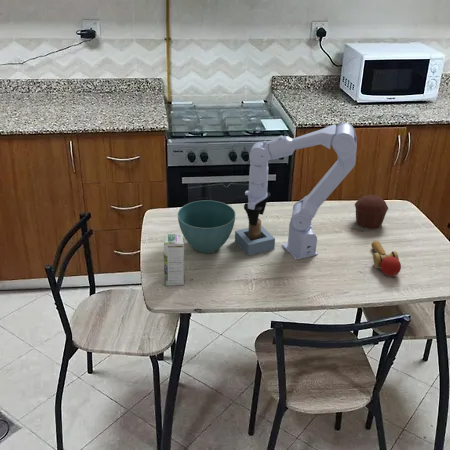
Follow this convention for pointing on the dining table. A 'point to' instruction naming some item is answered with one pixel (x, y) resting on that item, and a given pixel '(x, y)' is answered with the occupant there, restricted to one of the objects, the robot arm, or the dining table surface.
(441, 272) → the dining table surface
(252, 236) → the peg
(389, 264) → the kendama
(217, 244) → the teal bowl
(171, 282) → the syrup box
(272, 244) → the socket
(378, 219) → the muffin
